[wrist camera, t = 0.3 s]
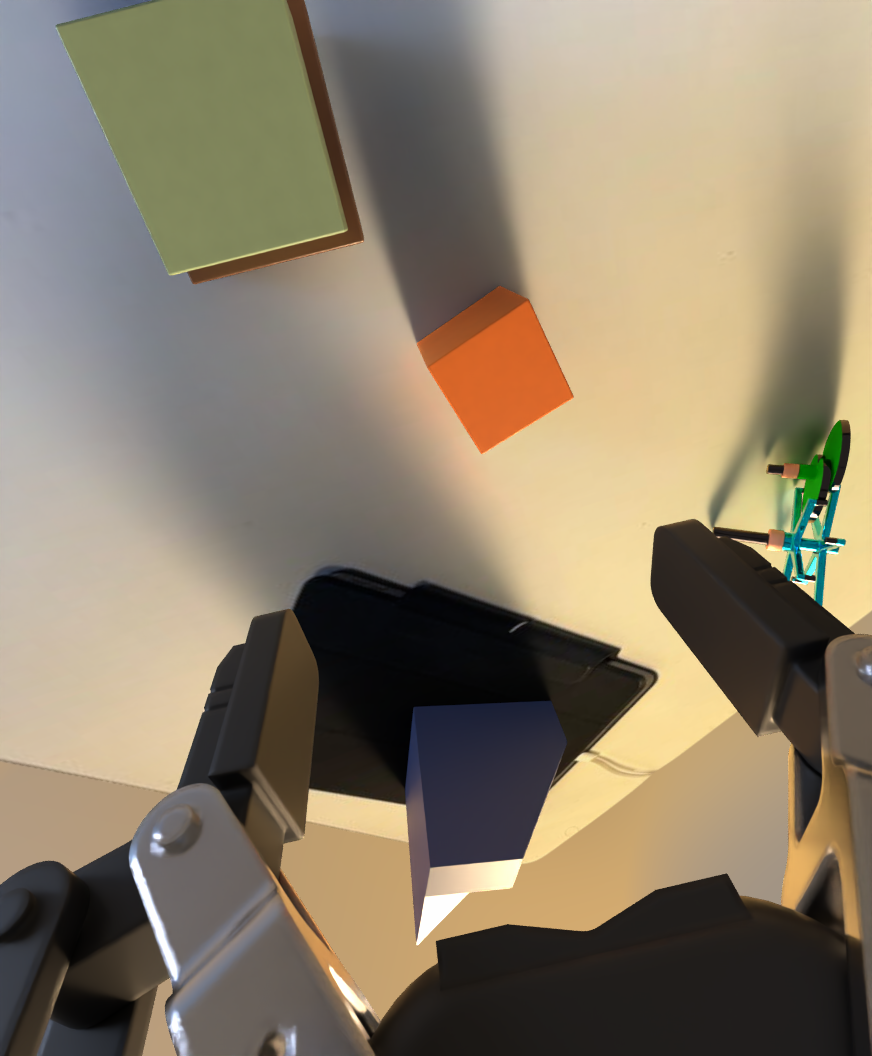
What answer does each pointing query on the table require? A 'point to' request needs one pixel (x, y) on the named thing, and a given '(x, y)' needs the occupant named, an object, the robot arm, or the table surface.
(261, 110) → the green block
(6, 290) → the table surface
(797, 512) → the stick construction toy
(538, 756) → the phone stand
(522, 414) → the toy cube
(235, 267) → the walnut block
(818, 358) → the table surface
